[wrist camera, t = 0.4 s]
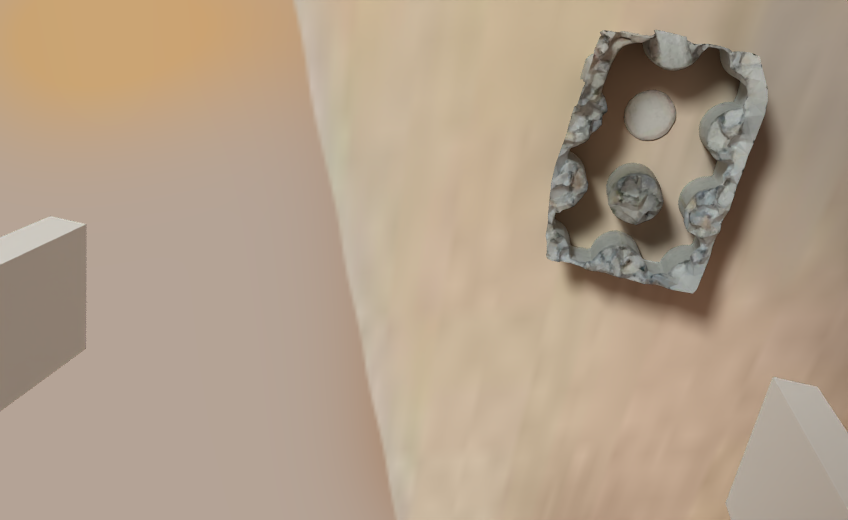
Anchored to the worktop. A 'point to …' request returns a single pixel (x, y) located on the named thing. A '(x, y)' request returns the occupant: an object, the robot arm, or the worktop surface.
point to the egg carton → (635, 183)
